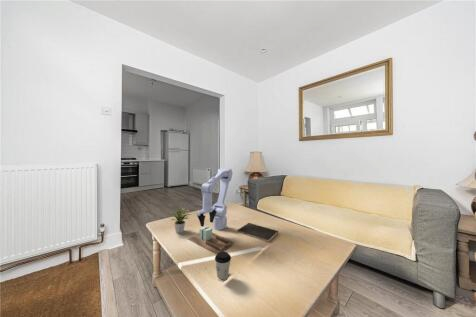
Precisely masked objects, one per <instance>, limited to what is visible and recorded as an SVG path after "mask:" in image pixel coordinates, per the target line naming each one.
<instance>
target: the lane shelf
mask: <svg viewBox="0 0 476 317" xmlns="http://www.w3.org/2000/svg"><path fill="white" fill-rule="evenodd" d="M187 240H188V241H191V243H194V244H196V245H197V246H199V247H202V248H203V249H205V250H207V251H209V252H210V253H213V254H214V255H217V253H219V252H224V250H227V249H228V248H230V247H231V246H232V245H234V244H236V242H235V241H233V240H230V239H228V238H226V237H223V236H221V235H219V234H216V233H214V232H212V238H211V239H209V240H207V241H204V240H202V239H200V238H199V233H198V234H196V235H193V236H192V237H189V238H187Z"/></svg>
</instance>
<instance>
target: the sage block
mask: <svg viewBox="0 0 476 317" xmlns="http://www.w3.org/2000/svg"><path fill="white" fill-rule="evenodd" d="M212 228H213V227H209V226H207V225H204V226H203V227H202V226H201V227H200V228H199V233H198V234H199V238H200V239H202V240H204V241H207V240H209V239H211V238H212V233H213V229H212Z"/></svg>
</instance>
